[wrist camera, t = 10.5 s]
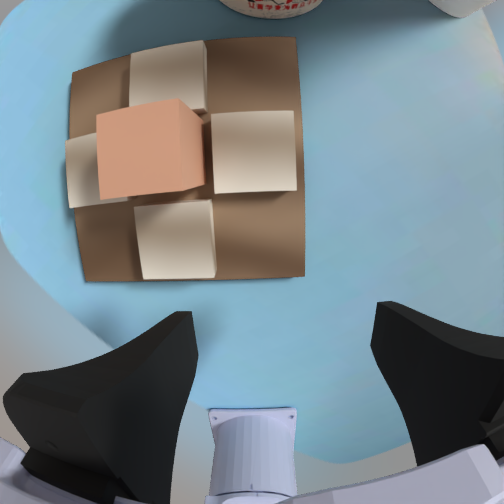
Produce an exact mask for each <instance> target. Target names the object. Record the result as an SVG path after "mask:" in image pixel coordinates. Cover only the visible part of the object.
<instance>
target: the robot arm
mask: <svg viewBox="0 0 504 504" xmlns="http://www.w3.org/2000/svg"><path fill="white" fill-rule="evenodd" d="M370 346H371V349H372V352H373V355H374V358H375V360H376V363H377V365H378V367H379V369H380V371H381V373H382V375H383V377H384V379H385V380H386V382H387V384H388V386H389V388H390V390H391V392H392V393H393V395H394V397H395V399H396V401H397V403H398V405H399V407H400V409H401V412H402V414H403V417H404V420H405V423H406V426H407V429H408V432H409V435H410V439H411V442H412V446H413V450H414V453H415V458H416V463H417V467H415V468H412V469H409V470H406V471H402V472H400V473H396V474H392V475H389V476H385V477H381V478H377V479H373V480H369V481H365V482H360V483H355V484H351V485H345V486H340V487H334V488H328V489H324V490H320V491H316V492H311V493H306V494H301V495H297V486H296V477H295V468H294V458H293V449H294V439H295V428H296V417H297V411H296V409H295V408H275V409H211V410H209V413H208V415H209V420H210V424H211V429H212V433H213V438H214V442H215V452H214V459H213V467H212V475H211V482H210V490H209V496H205V503H204V504H504V337H498V336H492V335H486V334H481V333H476V332H472V331H469V330H465V329H461V328H458V327H455V326H452V325H449V324H447V323H444V322H442V321H439V320H437V319H434V318H432V317H429V316H427V315H425V314H422V313H420V312H418V311H416V310H413V309H411V308H409V307H407V306H404V305H402V304H399V303H396V302H393V301H385V302H377V308H376V314H375V321H374V327H373V333H372V339H371V344H370ZM197 361H198V350H197V344H196V337H195V331H194V324H193V317H192V311H176V312H174V313H172V314H171V315H169V316H168V317H166V318H165V319H163V320H162V321H160V322H159V323H158V324H156V325H155V326H153V327H152V328H150V329H149V330H147V331H146V332H144V333H143V334H141V335H139V336H138V337H136V338H135V339H133V340H131V341H130V342H128V343H126V344H124V345H123V346H121V347H119V348H117V349H115V350H113V351H110V352H108V353H106V354H104V355H102V356H99V357H96V358H94V359H91V360H88V361H85V362H82V363H79V364H75V365H72V366H68V367H63V368H59V369H54V370H49V371H40V372H32V373H23V374H22V375H21V376H20V377H19V378H18V379H17V380H16V381H15V383H14V384H13V385H12V386H11V387H10V388H9V389H8V391H6V393H5V394H4V396H3V404H4V407H5V410H6V413H7V415H8V416H9V418H10V420H11V421H12V423H13V424H14V426H15V427H16V429H17V430H18V431H19V433H20V434H21V435H22V437H23V438H24V440H25V441H26V442H27V444H28V445H29V446H30V449H29V450H28V452H27V453H25V452H24V451H23V450H21V449H20V448H19V447H17V446H15V445H14V444H12V443H10V442H8V441H6V440H5V439H3V438H1V437H0V504H170V493H171V482H172V471H173V464H174V456H175V449H176V443H177V437H178V431H179V427H180V423H181V419H182V416H183V412H184V409H185V406H186V403H187V400H188V397H189V394H190V391H191V387H192V384H193V381H194V378H195V373H196V368H197ZM290 415H292V416H290Z"/></svg>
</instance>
